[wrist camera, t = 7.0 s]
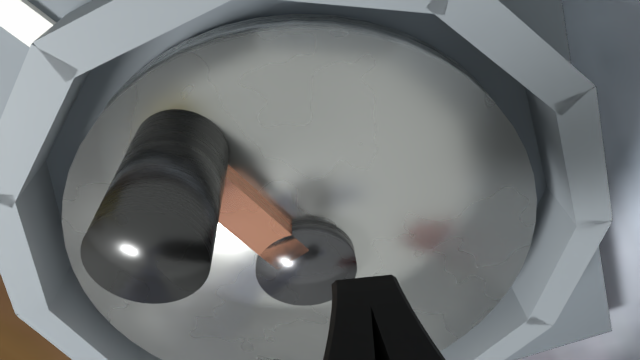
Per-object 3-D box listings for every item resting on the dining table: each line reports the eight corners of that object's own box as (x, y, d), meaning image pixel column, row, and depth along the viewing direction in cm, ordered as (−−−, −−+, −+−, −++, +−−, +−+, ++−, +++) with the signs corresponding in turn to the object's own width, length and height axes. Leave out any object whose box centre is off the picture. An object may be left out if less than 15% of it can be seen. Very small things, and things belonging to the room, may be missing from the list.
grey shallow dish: (234, 424, 25) (228, 489, 22) (-190, 32, 13) (-301, 78, 10) (599, 312, 21) (639, 373, 19) (483, -365, 9) (554, -436, 7)
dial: (587, 244, 17) (687, 379, 13) (283, 402, 22) (283, 541, 17) (348, -123, 10) (392, -94, 6) (-22, 216, 15) (-143, 367, 11)
